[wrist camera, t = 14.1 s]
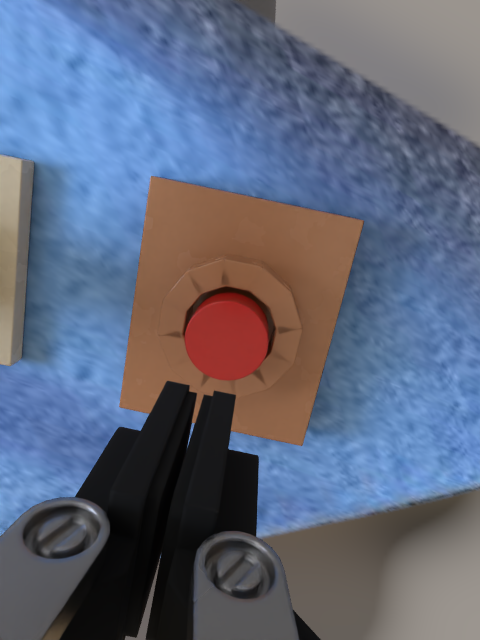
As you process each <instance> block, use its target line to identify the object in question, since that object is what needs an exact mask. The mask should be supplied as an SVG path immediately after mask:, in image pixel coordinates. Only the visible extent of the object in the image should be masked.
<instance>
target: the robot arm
mask: <svg viewBox="0 0 480 640" xmlns="http://www.w3.org/2000/svg"><path fill="white" fill-rule="evenodd" d="M189 389H190V385H186V384H182V383H177V382H172V381H167V382H166V383H165V385H164V387H163V389H162V391H161V393H160V395H159V397H158V399H157V401H156V403H155V405H154V406H153V408H152V410H151V412H150V414H149V416H148V418H147V420H146V422H145V424H144V426H143V428H142V430H141V431H138V430H133V429H129V428H124V427H119V428H118V429H117V430H116V432H115V433H114V435H113V436H112V438H111V440H110V441H109V443H108V445H107V446H106V448H105V449H104V451H103V453H102V454H101V456H100V457H99V459H98V461H97V462H96V464H95V465H94V467H93V469H92V470H91V472H90V474H89V475H88V477H87V478H86V480H85V482H84V483H83V485H82V486H81V488H80V490H79V491H78V493H77V495H76V496H75V497H60V498H55V499H51V500H46V501H44V502H42V503H39V504H37V505H35V506H33V507H32V508H30V509H29V510H28V511H26V512H25V513H24V514H22V515H21V516H20V517H19V518H18V519H17V520H16V521H15V522H14V523H13V524H12V525H11V526H10V527H9V528H8V529H7V530H6V531H5V532H4V533H3V534H2V535H1V536H0V640H125V636H130V637H135V638H136V637H137V634H138V631H139V628H140V624H141V621H142V618H143V614H144V611H145V607H146V604H147V600H148V597H149V593H150V590H151V587H152V583H153V580H154V576H155V573H156V570H157V566H158V562H159V559H160V564H159V569H158V575H157V581H156V585H155V591H154V597H153V602H152V607H151V613H150V618H149V624H148V629H147V634H146V640H320V638H319V637H318V636H317V635H316V634H315V633H314V632H313V631H312V630H311V629H310V628H309V627H308V626H307V624H306V623H305V622H304V621H303V620H302V619H301V618H300V617H299V616H298V615H297V614H296V612H295V611H294V610H293V609H292V603H291V599H290V594H289V589H288V585H287V580H286V575H285V571H284V568H283V565H282V563H281V560H280V558H279V557H278V555H277V554H276V552H275V551H274V550H273V549H272V547H270V546H269V545H268V544H267V543H265V542H264V541H263V540H261V539H259V538H257V537H256V526H257V496H258V466H259V457H258V455H253V454H248V453H243V452H239V451H234V450H229V449H228V446H229V439H230V433H231V426H232V419H233V413H234V406H235V400H236V395H234V394H229V393H225V392H220V391H215V390H214V392H213V396H210V395H205V394H204V396H203V399H202V402H201V406H200V409H199V412H198V416H197V419H196V422H195V425H194V429H193V432H192V435H191V438H190V442H189V445H188V440H189V435H190V430H191V424H192V419H193V414H194V408H195V403H196V398H197V393H195V392H190V391H189ZM187 445H188V448H187ZM161 552H162V553H161ZM160 556H161V558H160Z"/></svg>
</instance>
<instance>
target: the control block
mask: <svg viewBox="0 0 480 640" xmlns="http://www.w3.org/2000/svg"><path fill="white" fill-rule="evenodd" d="M363 223H364V221H363V220H360V219H357V218H353V217H348V216H343V215H338V214H334V213H329V212H324V211H319V210H315V209H310V208H305V207H300V206H295V205H291V204H286V203H281V202H276V201H272V200H267V199H262V198H257V197H253V196H248V195H243V194H238V193H233V192H229V191H224V190H219V189H214V188H210V187H205V186H200V185H195V184H190V183H186V182H181V181H176V180H171V179H167V178H162V177H155V176H151V177H150V185H149V192H148V199H147V207H146V214H145V221H144V229H143V236H142V243H141V251H140V258H139V265H138V273H137V280H136V287H135V295H134V302H133V310H132V317H131V324H130V332H129V339H128V346H127V354H126V361H125V368H124V376H123V383H122V390H121V398H120V405H119V407H120V408H125V409H130V410H134V411H139V412H144V413H149V414H150V412H151V410H152V408H153V406H154V405H155V403H156V401H157V399H158V397H159V395H160V393H161V391H162V389H163V387H164V385H165V383H166V382H167V381H172V382H177V383H182V384H186V385H190V389H189V391H190V392H195V393H197V398H196V403H195V408H194V414H193V419H192V423H195V422H196V419H197V416H198V412H199V409H200V406H201V402H202V399H203V396H204V394H205V395H210V396H213V392H214V390H215V391H220V392H225V393H229V394H234V395H236V400H235V406H234V413H233V419H232V426H231V431H234V432H238V433H243V434H248V435H252V436H257V437H262V438H267V439H271V440H276V441H281V442H286V443H290V444H295V445H300V446H302V445H303V442H304V438H305V434H306V431H307V427H308V424H309V420H310V416H311V413H312V409H313V405H314V402H315V398H316V394H317V391H318V387H319V383H320V380H321V376H322V373H323V369H324V365H325V362H326V358H327V354H328V351H329V347H330V343H331V340H332V336H333V333H334V329H335V325H336V322H337V318H338V314H339V311H340V307H341V303H342V300H343V296H344V293H345V289H346V285H347V282H348V278H349V274H350V271H351V267H352V263H353V260H354V256H355V252H356V249H357V245H358V242H359V238H360V234H361V231H362V227H363ZM226 292H229V293H238V294H242V295H244V296H246V297H248V298H250V299H252V300H253V301H254V302H256V303H257V304H258V305H259V306H260V308H261V309H262V310H263V312H264V314H265V316H266V319H267V322H268V328H269V345H268V351H267V354H266V357H265V359H264V361H263V362H262V364H261V365H260V366H259V367H258V369H256V370H255V371H254V372H253V373H251V374H250V375H248V376H246V377H244V378H241V379H237V380H230V381H227V380H218V379H215V378H212V377H209V376H207V375H206V374H204V373H202V372H201V371H200V370H199V369H198V368H197V367H196V366H195V365H194V364H193V363H192V361H191V360H190V358H189V356H188V354H187V351H186V347H185V332H186V328H187V325H188V323H189V321H190V319H191V318H192V316H193V314H194V313H195V311H196V310H197V308H198V307H199V306H200V304H201V303H203V302H204V301H205V300H206V299H208V298H209V297H211V296H214V295H216V294H220V293H226Z"/></svg>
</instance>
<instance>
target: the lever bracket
mask: <svg viewBox="0 0 480 640" xmlns="http://www.w3.org/2000/svg"><path fill="white" fill-rule="evenodd" d="M33 173H34V162H33V161H31V160H26V159H21V158H16V157H12V156H7V155H2V154H0V364H2V365H7V366H12V365H13V364H15V363H16V362H18V361H19V360H21V358H22V345H23V329H24V314H25V298H26V282H27V267H28V251H29V236H30V220H31V204H32V189H33Z"/></svg>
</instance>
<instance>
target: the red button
mask: <svg viewBox="0 0 480 640" xmlns="http://www.w3.org/2000/svg"><path fill="white" fill-rule="evenodd" d="M268 345H269V328H268V322H267V319H266V316H265V314H264V312H263V310H262V309H261V308H260V306H259V305H258V304H257V303H256V302H254V301H253V300H252V299H250V298H248V297H246V296H244V295H242V294H238V293H229V292H226V293H220V294H216V295H214V296H211V297H209V298H208V299H206V300H205V301H204V302H203V303H201V304H200V306H199V307H198V308H197V310H196V311H195V313H194V314H193V316H192V318H191V319H190V321H189V323H188V325H187V328H186V332H185V347H186V351H187V354H188V356H189V358H190V360H191V361H192V363H193V364H194V365H195V366H196V367H197V368H198V369H199V370H200V371H201V372H202V373H204V374H206V375H207V376H209V377H212V378H215V379H218V380H227V381H230V380H237V379H241V378H244V377H246V376H248V375H250V374H251V373H253V372H254V371H255V370H256V369H258V367H259V366H260V365H261V364H262V362H263V361H264V359H265V357H266V354H267V351H268Z"/></svg>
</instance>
